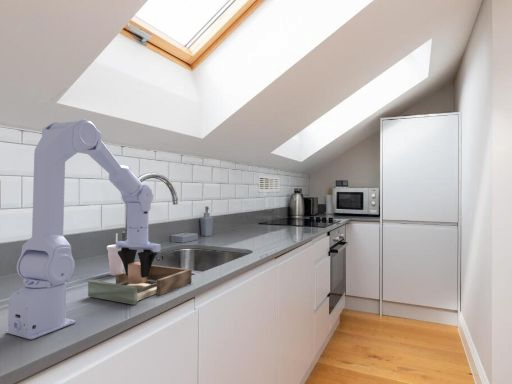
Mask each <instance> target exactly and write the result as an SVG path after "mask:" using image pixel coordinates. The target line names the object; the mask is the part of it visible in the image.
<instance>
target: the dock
mask: <svg viewBox="0 0 512 384" xmlns="http://www.w3.org/2000/svg"><path fill="white" fill-rule="evenodd" d="M192 273H193V271H192V269H190V268H183V267H174V266H173V267H172V266H166V265H157V264H152V265H151V268H150V272H149V276H148V277H147V280H151V279H155V280H156V281H157V293H156V296H161V295H165V294H166V293H170V292H172V291H174V290H177V289H179V288H182V287H184V286H186V285H188V284H190V283H191V284H192V275H193V274H192ZM126 281H128V276H127V275H126V272H125V271H124V272H123V273H119V274H116V275H115V284H120V283H123V282H126ZM176 288H177V289H176ZM171 290H172V291H171Z"/></svg>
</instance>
